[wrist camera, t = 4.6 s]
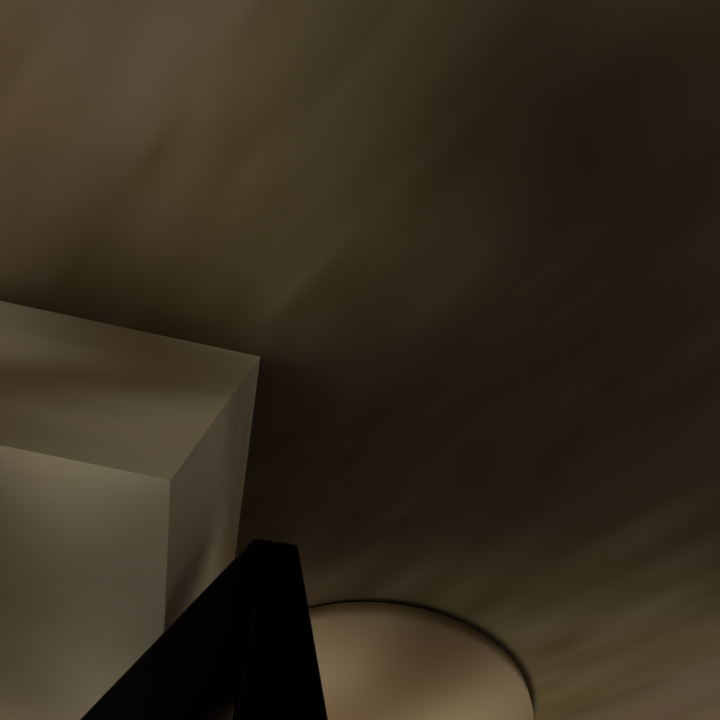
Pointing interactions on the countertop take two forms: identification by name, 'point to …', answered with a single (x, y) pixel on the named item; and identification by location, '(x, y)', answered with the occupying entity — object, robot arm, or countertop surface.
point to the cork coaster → (412, 666)
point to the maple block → (108, 497)
